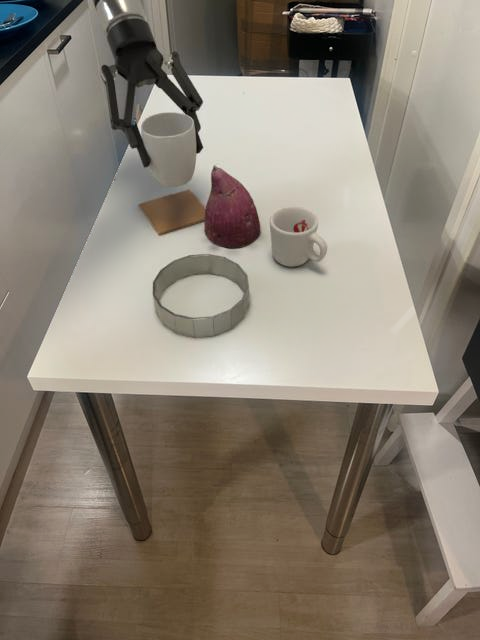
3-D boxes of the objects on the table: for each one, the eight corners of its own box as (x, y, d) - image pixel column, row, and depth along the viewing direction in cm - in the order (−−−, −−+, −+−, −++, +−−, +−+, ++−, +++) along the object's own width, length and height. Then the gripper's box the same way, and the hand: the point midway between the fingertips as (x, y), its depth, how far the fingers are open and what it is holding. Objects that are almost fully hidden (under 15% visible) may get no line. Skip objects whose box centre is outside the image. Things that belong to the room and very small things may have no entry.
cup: (336, 263, 86) (342, 225, 80) (307, 286, 82) (312, 248, 76) (287, 237, 91) (290, 200, 85) (259, 258, 87) (259, 220, 81)
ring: (178, 350, 73) (175, 332, 70) (142, 290, 82) (138, 272, 79) (265, 315, 77) (266, 297, 75) (222, 262, 86) (221, 244, 84)
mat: (159, 235, 92) (158, 233, 92) (138, 206, 99) (138, 203, 98) (212, 218, 95) (212, 216, 95) (189, 191, 102) (188, 189, 102)
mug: (200, 189, 87) (195, 134, 79) (149, 193, 86) (139, 139, 79) (197, 152, 95) (192, 100, 88) (150, 156, 95) (141, 104, 88)
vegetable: (204, 258, 92) (174, 195, 81) (215, 220, 98) (188, 156, 87) (258, 253, 89) (234, 186, 78) (266, 214, 95) (245, 147, 84)
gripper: (181, 31, 91) (223, 150, 93) (63, 53, 84) (111, 180, 86) (190, 5, 84) (236, 134, 86) (62, 27, 77) (115, 166, 79)
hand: (173, 157), depth 86 cm, fingers closed on mug, 9 cm apart
